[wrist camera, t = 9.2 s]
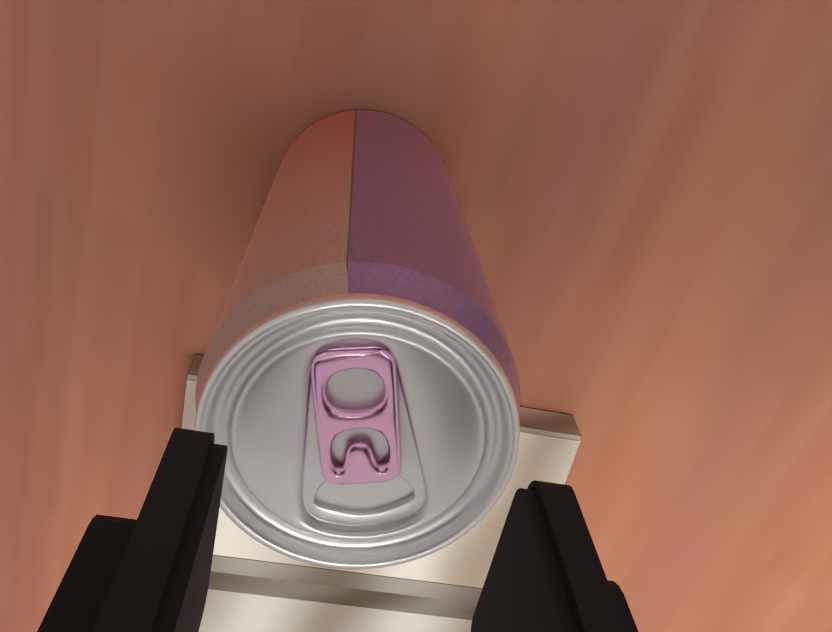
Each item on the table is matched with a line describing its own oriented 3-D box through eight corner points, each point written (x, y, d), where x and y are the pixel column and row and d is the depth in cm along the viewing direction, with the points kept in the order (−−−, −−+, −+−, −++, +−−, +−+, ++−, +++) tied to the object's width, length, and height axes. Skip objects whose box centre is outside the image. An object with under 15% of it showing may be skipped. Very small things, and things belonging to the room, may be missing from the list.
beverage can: (447, 101, 25) (538, 278, 12) (450, 268, 28) (527, 568, 15) (266, 109, 25) (151, 299, 12) (286, 277, 28) (209, 590, 14)
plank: (572, 414, 31) (581, 436, 30) (517, 566, 35) (523, 593, 33) (196, 353, 29) (187, 375, 28) (177, 522, 32) (168, 548, 31)
